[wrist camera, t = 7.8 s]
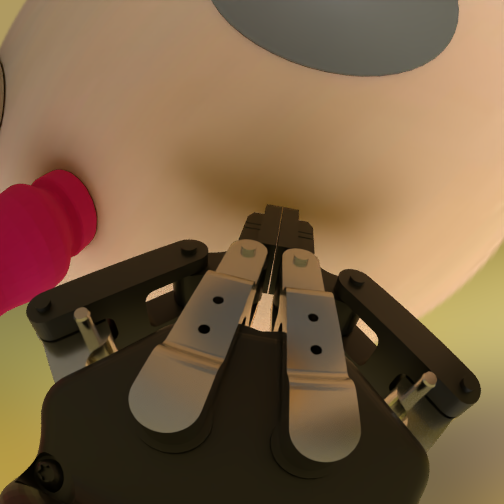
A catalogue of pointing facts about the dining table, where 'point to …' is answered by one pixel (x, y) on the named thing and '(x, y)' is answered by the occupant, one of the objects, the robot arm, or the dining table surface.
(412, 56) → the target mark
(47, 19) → the dining table surface
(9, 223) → the pepper mill
